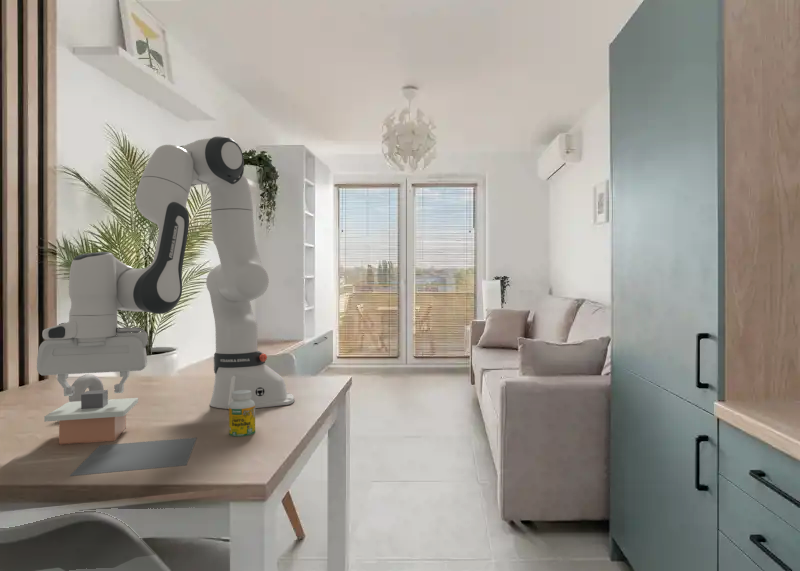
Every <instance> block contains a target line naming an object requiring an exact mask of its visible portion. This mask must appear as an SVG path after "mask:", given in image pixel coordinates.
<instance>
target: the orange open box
mask: <svg viewBox="0 0 800 571" xmlns="http://www.w3.org/2000/svg"><path fill="white" fill-rule="evenodd" d="M58 424H59V425H58V432H59V433H58V434H59V435H58V437H59V438H58V441H59V442H58V445H59V446H60V445H64V446H65V445H75V444H76V445H77V444H87V443H90V444H91V443H101V442H115V441H116V440H118V438H119V437H120V435H121V434H122V433H124V431H125V430H126V429H127V414H126V415H124V416H120V417H106V418H91V419H76V420H61V421H58Z"/></svg>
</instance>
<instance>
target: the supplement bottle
mask: <svg viewBox="0 0 800 571" xmlns="http://www.w3.org/2000/svg"><path fill="white" fill-rule="evenodd" d="M250 398H251V391H250V390H238V391H234V392H232V399H233V401H232V402H231V403H230V404H229V409H228V433H229V436H232V437H247V436H251V435H254V434H256V408H255V403H254V401H253V400H250Z"/></svg>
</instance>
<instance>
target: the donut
mask: <svg viewBox="0 0 800 571" xmlns="http://www.w3.org/2000/svg"><path fill="white" fill-rule="evenodd" d="M71 386H74V395H73V396H68V402H76V401H81V394H83V393H85V392H86V391H87V389H88V391H97V390H105V389H104V385H103V382H102V380H101V379H100V378H99V377H98V376H96V375H95V374H93V373H85V374H83V375H81V376H79V377H78V378H77V379H75V380H74V381H73V383H72V385H71Z"/></svg>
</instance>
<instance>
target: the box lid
mask: <svg viewBox="0 0 800 571" xmlns="http://www.w3.org/2000/svg"><path fill="white" fill-rule="evenodd" d="M108 392H109V390H108V389H104V390H97V391H89V390H85V393H83V394H81V401H76V402H69V401H68V402H66V403H64V404H62V405H61V406H59V407H58V408H56V409H55V410H52V411H51V412H49V413H48V414H46V415H45V416H43V417H44V423H45V422H57V421H58V422H59V421H61V420H76V419H91V418H106V417H120V416H124V415H126V416H127V414H128V413H129V412H130V411H131V410H132V409H133V408H134V407H135V406H136V405H137V404H138V403H139V397H130V398H129V397H127V398H113V399H109V393H108Z"/></svg>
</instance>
